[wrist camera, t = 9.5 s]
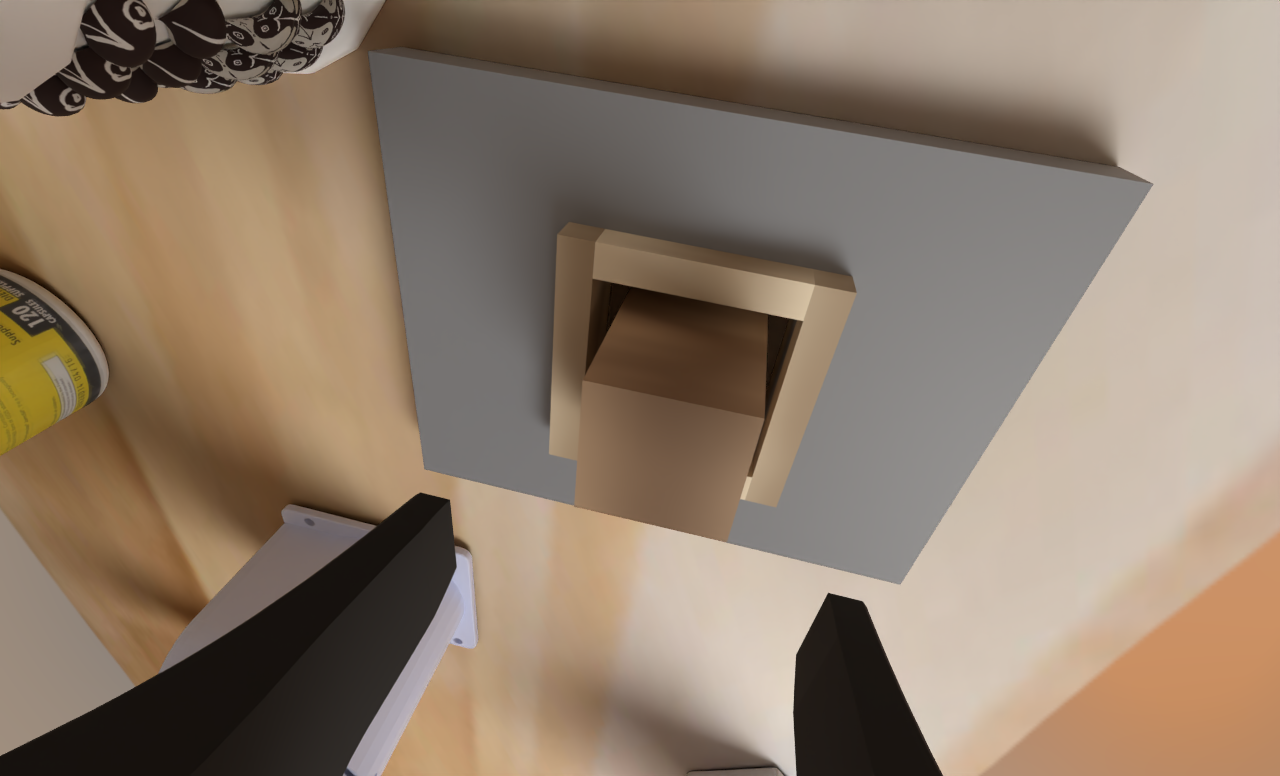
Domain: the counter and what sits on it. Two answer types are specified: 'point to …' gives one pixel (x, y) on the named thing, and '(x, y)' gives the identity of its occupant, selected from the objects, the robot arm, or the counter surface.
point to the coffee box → (739, 772)
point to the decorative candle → (165, 46)
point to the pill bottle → (42, 361)
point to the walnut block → (672, 413)
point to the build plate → (729, 283)
